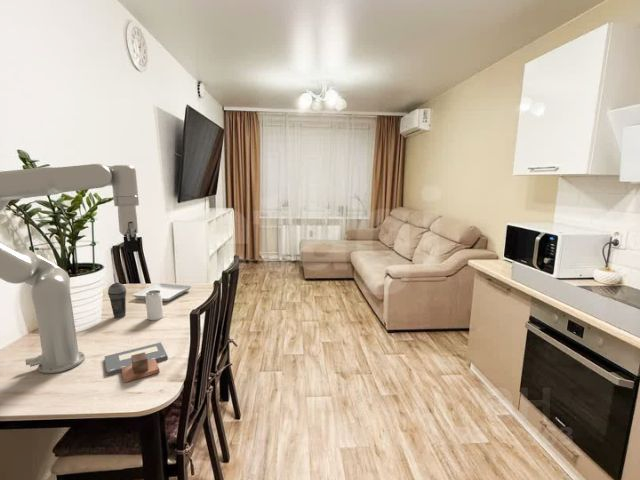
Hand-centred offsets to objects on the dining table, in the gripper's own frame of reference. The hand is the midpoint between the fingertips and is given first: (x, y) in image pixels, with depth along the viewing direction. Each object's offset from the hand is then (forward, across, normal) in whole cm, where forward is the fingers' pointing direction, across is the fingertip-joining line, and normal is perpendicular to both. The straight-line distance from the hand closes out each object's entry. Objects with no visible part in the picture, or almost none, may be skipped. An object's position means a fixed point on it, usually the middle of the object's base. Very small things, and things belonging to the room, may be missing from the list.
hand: (131, 249), depth 124 cm
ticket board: (+37, +11, -3) cm, 38 cm away
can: (+37, -24, +9) cm, 45 cm away
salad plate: (+37, -54, +19) cm, 68 cm away
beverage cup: (+37, -35, -4) cm, 51 cm away
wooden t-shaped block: (+37, +21, -3) cm, 42 cm away
